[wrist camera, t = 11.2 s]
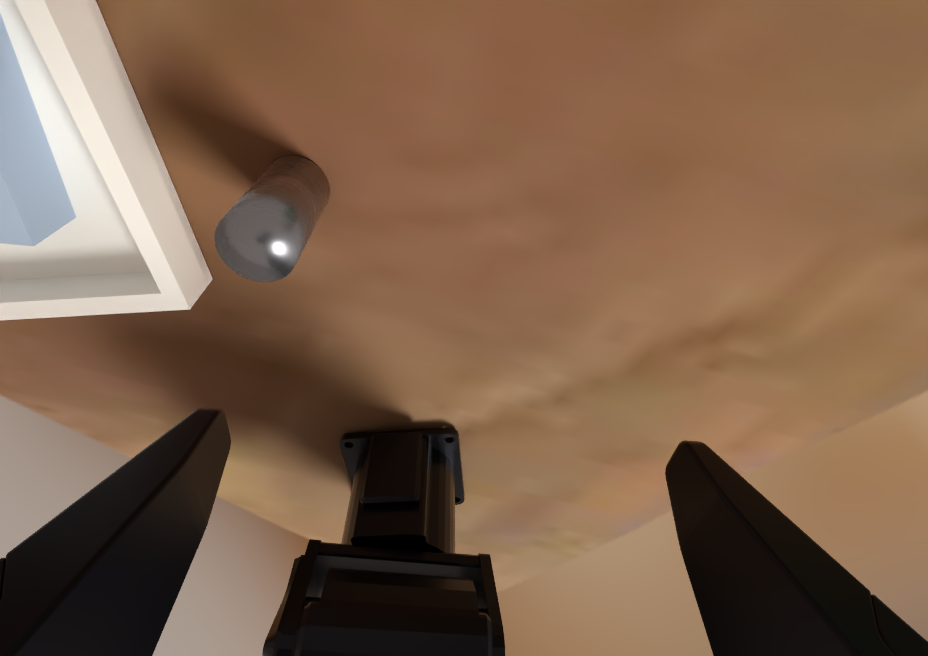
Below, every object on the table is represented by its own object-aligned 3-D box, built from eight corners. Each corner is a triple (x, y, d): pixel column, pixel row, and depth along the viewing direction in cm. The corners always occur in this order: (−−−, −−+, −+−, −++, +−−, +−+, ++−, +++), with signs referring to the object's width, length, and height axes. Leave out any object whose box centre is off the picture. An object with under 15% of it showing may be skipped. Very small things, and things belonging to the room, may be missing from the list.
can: (335, 214, 20) (305, 279, 16) (276, 218, 20) (230, 284, 16) (322, 153, 18) (285, 207, 14) (257, 157, 18) (202, 212, 14)
